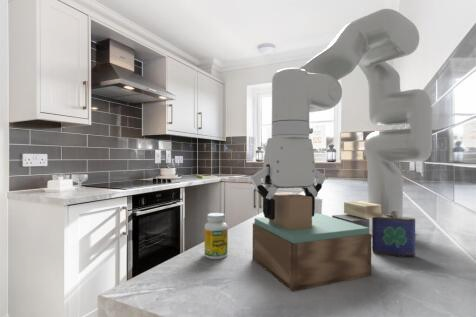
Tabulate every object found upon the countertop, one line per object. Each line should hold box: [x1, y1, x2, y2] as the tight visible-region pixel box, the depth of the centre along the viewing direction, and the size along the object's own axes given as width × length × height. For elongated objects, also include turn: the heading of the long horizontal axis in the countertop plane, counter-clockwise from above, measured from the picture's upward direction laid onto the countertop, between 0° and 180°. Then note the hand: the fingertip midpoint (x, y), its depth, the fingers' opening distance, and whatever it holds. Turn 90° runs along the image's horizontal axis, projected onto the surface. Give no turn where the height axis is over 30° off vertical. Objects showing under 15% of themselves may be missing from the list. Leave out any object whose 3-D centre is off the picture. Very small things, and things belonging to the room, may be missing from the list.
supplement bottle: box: [204, 212, 229, 260], centre depth 63 cm, size 5×5×10 cm
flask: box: [371, 210, 416, 258], centre depth 64 cm, size 9×3×11 cm, turn 74°
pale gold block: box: [343, 200, 381, 219], centre depth 62 cm, size 5×6×3 cm
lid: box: [254, 191, 369, 244], centre depth 56 cm, size 17×15×7 cm
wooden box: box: [251, 213, 372, 292], centre depth 57 cm, size 23×16×10 cm
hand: (289, 216), depth 55 cm, fingers open, 8 cm apart
